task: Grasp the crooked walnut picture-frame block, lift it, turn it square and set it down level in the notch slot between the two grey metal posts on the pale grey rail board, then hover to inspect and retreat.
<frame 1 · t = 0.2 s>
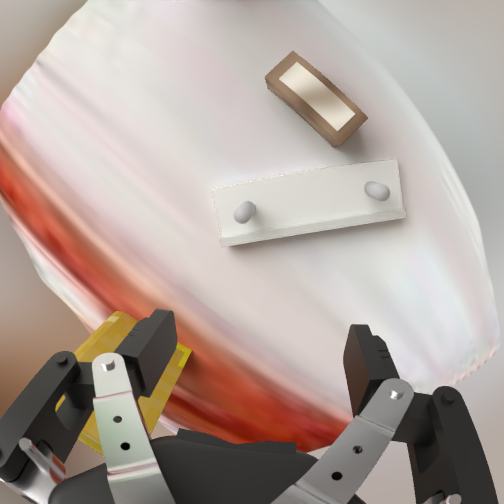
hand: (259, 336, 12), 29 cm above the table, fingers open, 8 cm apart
rail board: (310, 199, 38), on the table
frame: (313, 104, 34), on the table
book: (147, 338, 50), on the table
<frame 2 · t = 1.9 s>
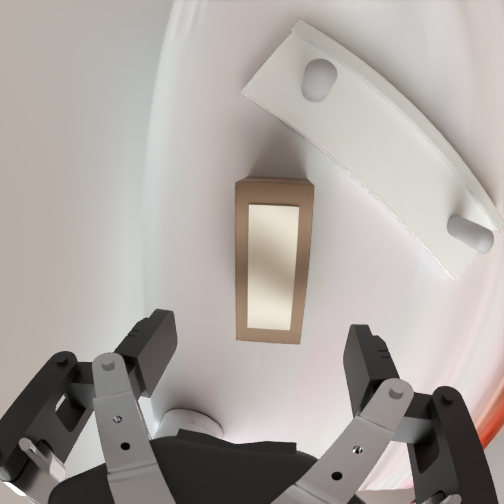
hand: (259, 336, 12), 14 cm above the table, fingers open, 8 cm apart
rail board: (393, 155, 21), on the table
frame: (275, 246, 25), on the table
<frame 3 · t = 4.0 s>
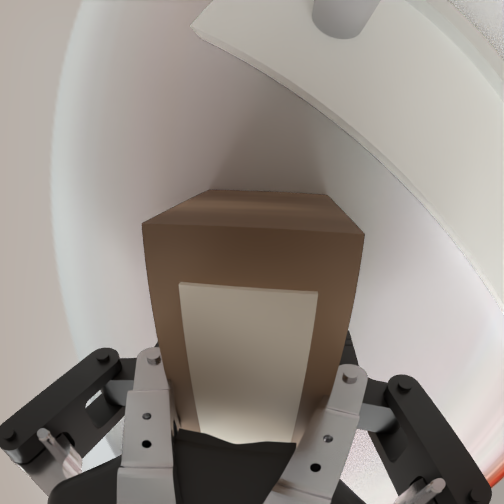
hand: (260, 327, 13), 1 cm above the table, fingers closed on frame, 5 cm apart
rail board: (474, 154, 10), on the table
frame: (262, 316, 14), on the table, touching gripper
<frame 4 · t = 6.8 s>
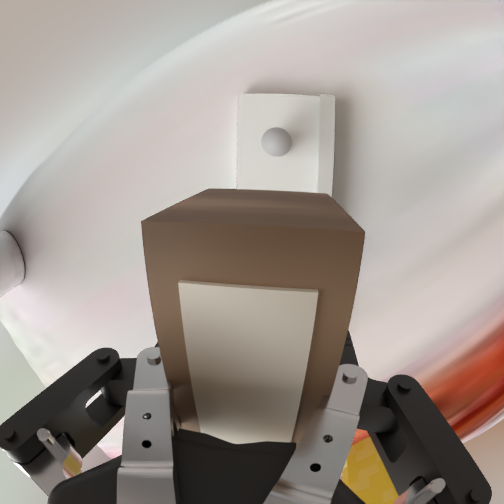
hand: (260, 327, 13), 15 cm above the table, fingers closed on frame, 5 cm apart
rail board: (281, 237, 27), on the table
frame: (262, 316, 14), point 14 cm above the table, touching gripper
book: (383, 436, 36), on the table
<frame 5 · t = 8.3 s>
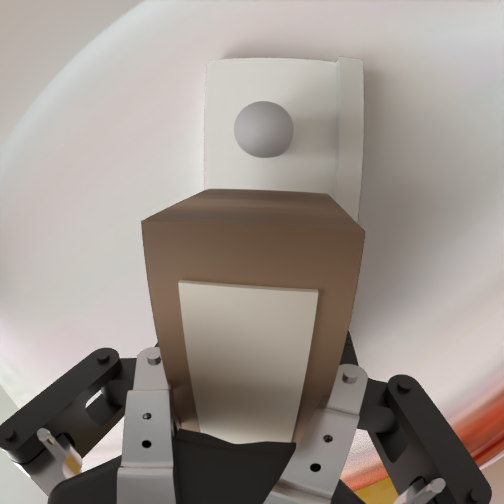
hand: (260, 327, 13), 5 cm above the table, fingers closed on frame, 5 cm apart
rail board: (275, 280, 18), on the table
frame: (262, 316, 14), point 4 cm above the table, touching gripper
book: (391, 480, 27), on the table
when the fingers open (4 cm above the table, at t = 9.5 s): frame drops 1 cm, resting on rail board.
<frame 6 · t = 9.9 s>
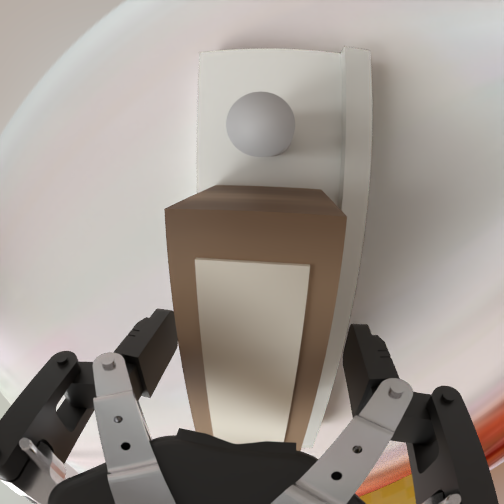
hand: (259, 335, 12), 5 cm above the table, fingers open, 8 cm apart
rail board: (275, 290, 16), on the table
frame: (263, 300, 15), point 1 cm above the table, touching rail board
book: (393, 487, 26), on the table
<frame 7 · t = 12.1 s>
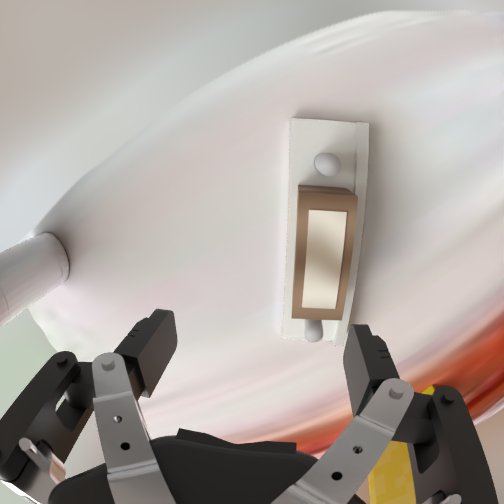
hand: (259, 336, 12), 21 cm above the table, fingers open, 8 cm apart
rail board: (322, 238, 31), on the table
frame: (318, 241, 30), point 1 cm above the table, touching rail board
book: (401, 416, 40), on the table
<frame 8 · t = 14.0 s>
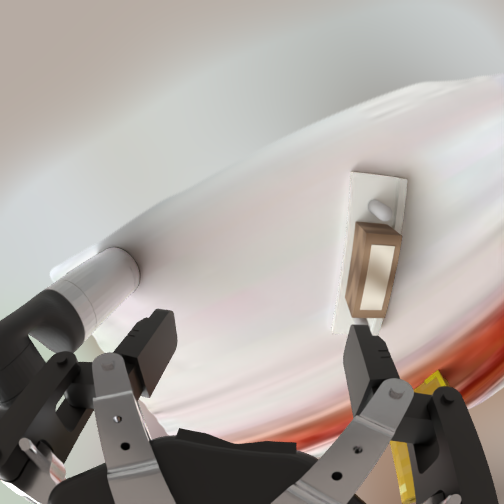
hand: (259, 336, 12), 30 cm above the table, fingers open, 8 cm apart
rail board: (367, 259, 41), on the table
frame: (366, 262, 40), point 1 cm above the table, touching rail board
book: (413, 397, 50), on the table
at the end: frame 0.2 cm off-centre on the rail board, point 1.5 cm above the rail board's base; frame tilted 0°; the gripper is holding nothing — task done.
